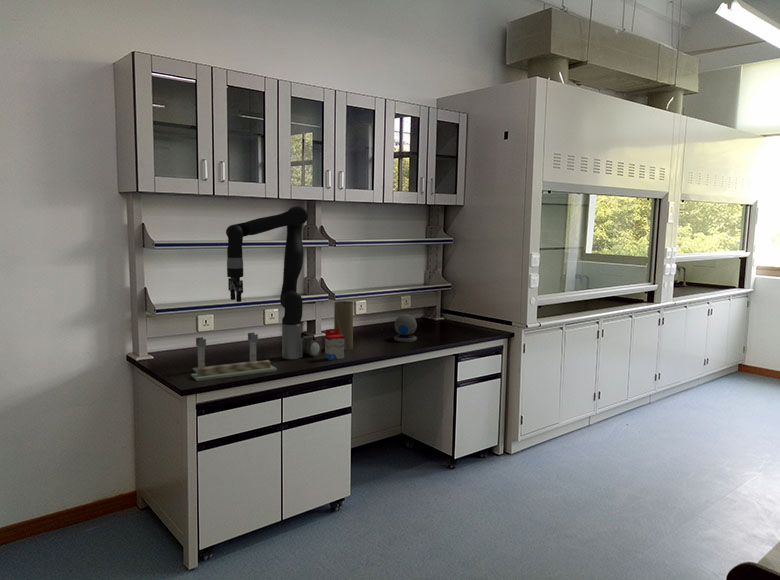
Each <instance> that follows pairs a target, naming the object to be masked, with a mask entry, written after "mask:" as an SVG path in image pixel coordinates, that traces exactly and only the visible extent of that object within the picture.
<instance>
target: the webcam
mask: <svg viewBox="0 0 780 580" xmlns="http://www.w3.org/2000/svg"><path fill="white" fill-rule="evenodd" d="M417 327H418V323H417V320H416V318H415V317H414V316H412V315H411V314H408V313H404V314H400V315H399V316H398V317H397V318H396V319H395V321H394V329H395V331H396V333H397V334H396V335H394V338H393V339H394V341H398V342H401V343H402V342H404V343H405V342H406V343H409V342H415V341H417V336H415V335H413V334H414V333H415V332H416V331H417Z"/></svg>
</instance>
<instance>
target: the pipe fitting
mask: <svg viewBox="0 0 780 580" xmlns="http://www.w3.org/2000/svg"><path fill="white" fill-rule="evenodd" d="M321 344H322V343H321V342H320V341H319V340H314V335H311V334H310V335H305V336H303V337H302V355H309V356H311V357H318V356H319V355H320V354H321V352H322V345H321Z"/></svg>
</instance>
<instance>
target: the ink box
mask: <svg viewBox="0 0 780 580" xmlns="http://www.w3.org/2000/svg"><path fill="white" fill-rule="evenodd" d="M334 331H335V332H334ZM339 332H340V329H339V328H338V329H334V328H329V329H325V335H324V359H325V360H328V361H335V360H343V359H344V358H345V350H344V335H341V334H339Z"/></svg>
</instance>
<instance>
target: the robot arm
mask: <svg viewBox="0 0 780 580" xmlns="http://www.w3.org/2000/svg"><path fill="white" fill-rule="evenodd" d="M308 219H309V213H308V210H307V209H306V208H304V207H303V206H299V205H296V206H292V207H290V208H289V209H288V210H287V211H284V212H282V213H278V214H275V215H270V216H269V215H268V216H263V217H259V218H255V219H251V220H249V221H245V222H239V223H235V224H231V225H229V226H227V228H226V229H225V234H226V236H227V243H228V244H227V249H226V254H227V255H226V257H227V259H226V270H227V271H226V276H227V278H228V280H227V281H228V286H227V287H228V291H229V293H230V300H231V301H236V302H237V303H241V302H242V295H243V293H244V282H243V280H242V279H241V278H243V277H244V259H243V242H244V237H248V236H254V235H255V236H256V235H258V234H259V235H260V234H262V233H266V232H269V231H272V230H276V229H279V228H283V227H286V238H285V239H286V240H285V246H284V259H283V272H282V273H283V276H282V286H281V291H280V297H279V302H280V305H281V307H282V308H284V315H283V317H282V319H281V329H282V330H281V342H282V344H281V345H282V347H281V348H282V349H281V353H282V355H281V356H282V359H285V360H297V359H301V358H303V354H302V340H303V337H302V334H301V333H302V330H301V329H302V319H303V307H304V306H303V305H304V303H303V297H302V295H300V293H298V292H297V289H298V288H297V285H298V279H299V277H300V274H301V272H302V269H303V263H304V246H303V245H304V244H303V239H302V232H303V225H304V224H305V223H306V222H308Z"/></svg>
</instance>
